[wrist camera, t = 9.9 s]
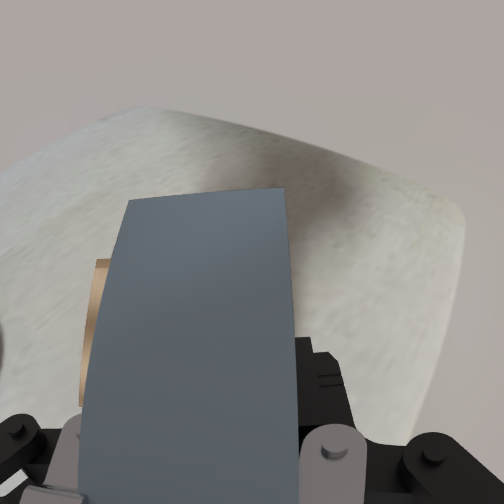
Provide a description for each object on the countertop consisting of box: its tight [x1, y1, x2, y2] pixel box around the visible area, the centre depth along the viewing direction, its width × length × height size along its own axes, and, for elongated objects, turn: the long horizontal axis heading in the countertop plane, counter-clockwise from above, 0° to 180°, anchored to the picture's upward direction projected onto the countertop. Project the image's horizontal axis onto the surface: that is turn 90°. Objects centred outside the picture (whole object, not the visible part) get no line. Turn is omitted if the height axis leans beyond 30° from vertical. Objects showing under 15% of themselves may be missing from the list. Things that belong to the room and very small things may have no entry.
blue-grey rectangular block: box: [78, 188, 299, 504], centre depth 9 cm, size 7×4×11 cm, turn 0°
